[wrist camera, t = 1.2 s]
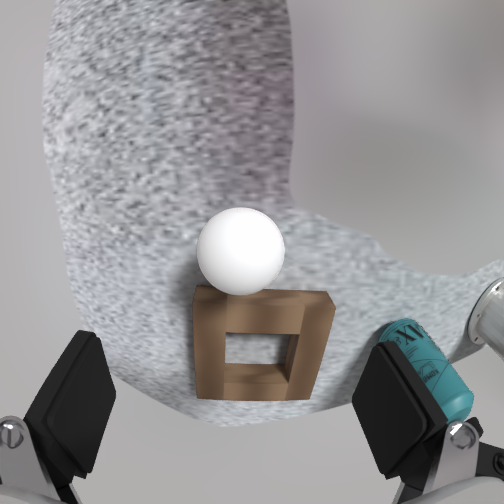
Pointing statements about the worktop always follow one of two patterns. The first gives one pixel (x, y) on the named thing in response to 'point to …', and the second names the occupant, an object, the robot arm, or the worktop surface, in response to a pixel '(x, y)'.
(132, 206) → the worktop surface
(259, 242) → the lightbulb
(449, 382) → the beverage bottle
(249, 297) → the socket block
